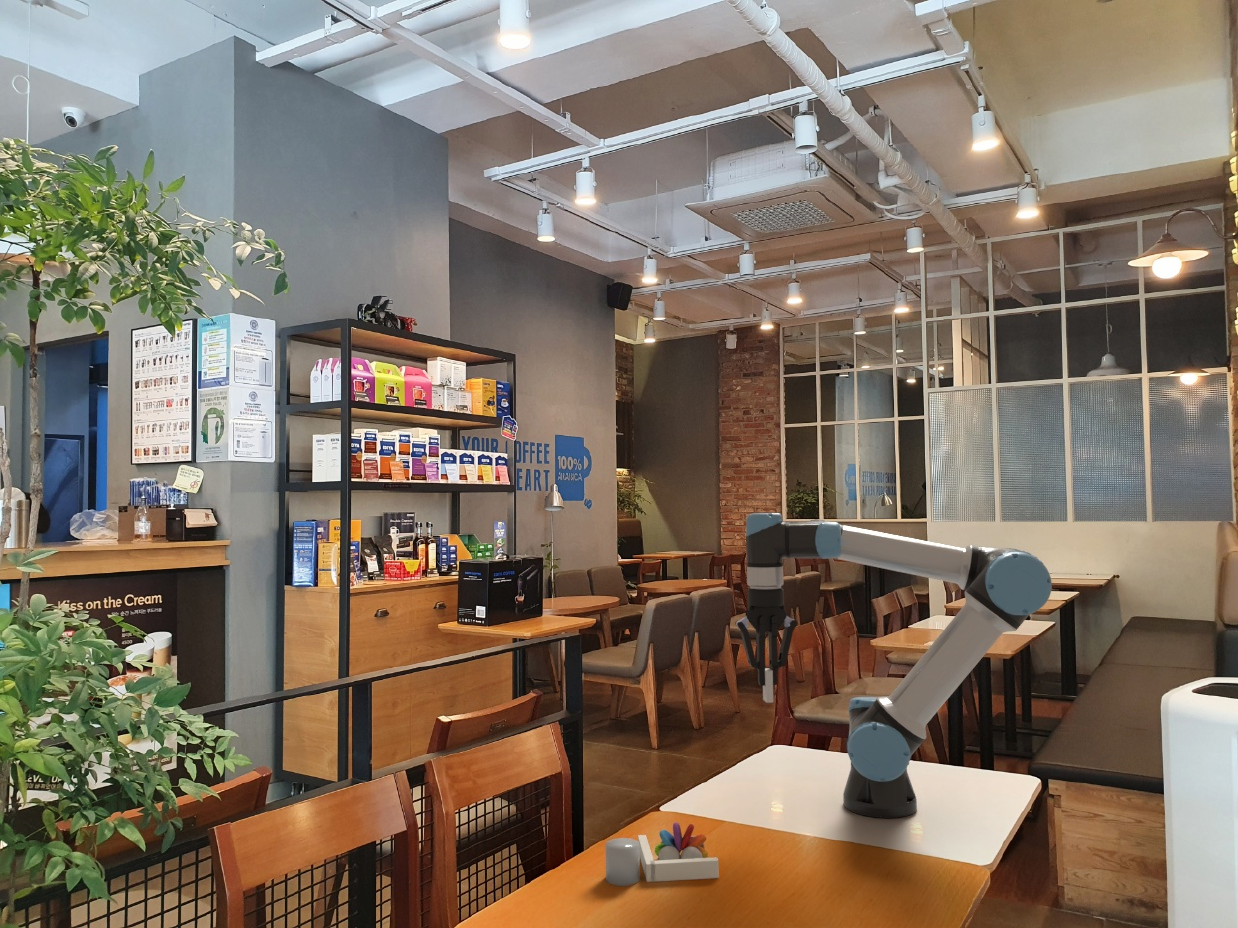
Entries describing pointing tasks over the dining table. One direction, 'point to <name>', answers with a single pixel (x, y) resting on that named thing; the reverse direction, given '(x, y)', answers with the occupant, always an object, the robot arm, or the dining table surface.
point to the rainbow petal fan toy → (681, 844)
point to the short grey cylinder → (622, 861)
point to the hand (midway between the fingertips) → (768, 700)
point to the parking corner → (675, 866)
